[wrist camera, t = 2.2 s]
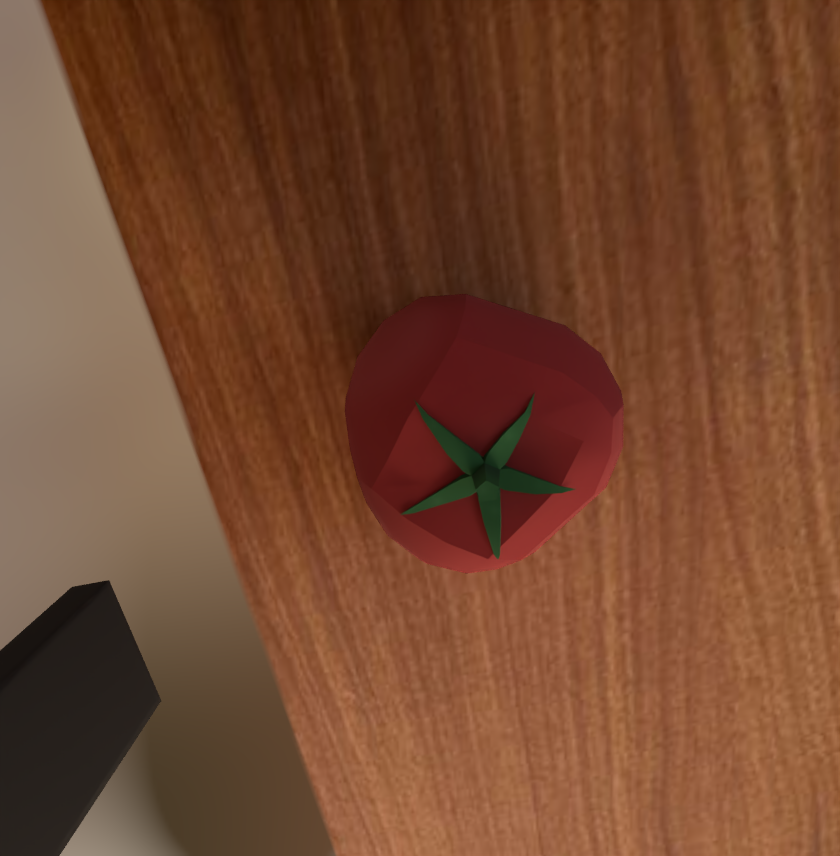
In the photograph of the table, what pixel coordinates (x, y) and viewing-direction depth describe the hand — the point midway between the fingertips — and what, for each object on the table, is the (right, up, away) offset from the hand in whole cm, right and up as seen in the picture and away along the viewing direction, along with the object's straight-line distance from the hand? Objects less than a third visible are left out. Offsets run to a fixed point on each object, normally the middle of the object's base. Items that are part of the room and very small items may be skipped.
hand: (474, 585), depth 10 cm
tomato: (+1, +4, +11) cm, 11 cm away
